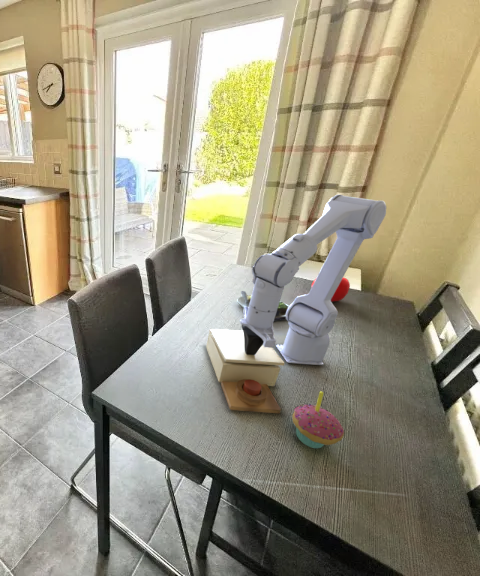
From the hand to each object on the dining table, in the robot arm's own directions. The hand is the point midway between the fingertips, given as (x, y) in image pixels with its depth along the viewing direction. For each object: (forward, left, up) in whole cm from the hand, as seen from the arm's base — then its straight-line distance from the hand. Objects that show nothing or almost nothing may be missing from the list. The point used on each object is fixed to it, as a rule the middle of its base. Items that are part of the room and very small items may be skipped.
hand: (249, 353), depth 76 cm
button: (+1, +7, -5) cm, 9 cm away
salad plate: (-19, -37, -8) cm, 42 cm away
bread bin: (0, -5, -8) cm, 9 cm away
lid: (0, -4, -1) cm, 5 cm away
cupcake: (-8, +17, -8) cm, 21 cm away
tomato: (-46, -48, -3) cm, 66 cm away
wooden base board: (+1, +7, -8) cm, 11 cm away
